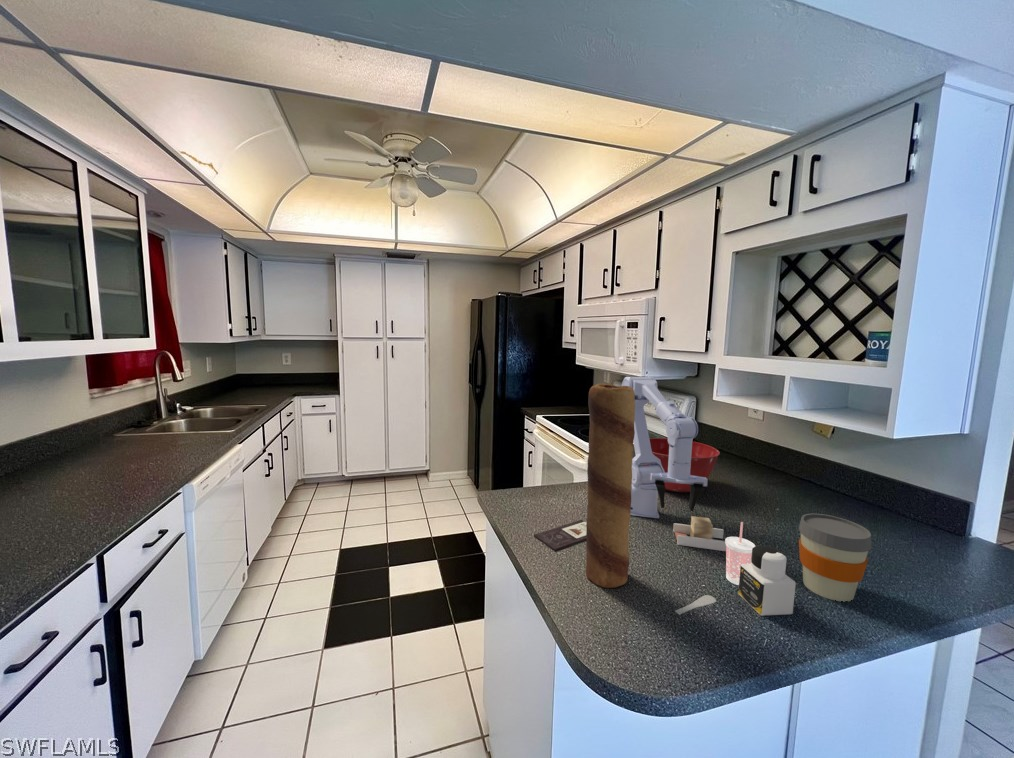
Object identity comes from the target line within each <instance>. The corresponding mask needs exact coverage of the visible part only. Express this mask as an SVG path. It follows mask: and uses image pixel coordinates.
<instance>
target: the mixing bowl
mask: <svg viewBox="0 0 1014 758" xmlns="http://www.w3.org/2000/svg"><path fill="white" fill-rule="evenodd" d="M649 439H650V444H651V450H652V454H653V455H654V456H656V457H657V458H659V459H660V461H661V465H662V467H663V469H664V471H665V473H668V460H669V443H668V437H667V438H666V437H655V438H654V437H653V438H652V437H651V438H649ZM720 455H721V454H720V451H719V449H717V448H715V447H713V446H711V445H708V444H704V443H701V442H697V441H693V440H692V454H691V468H690V475H693V476H699V477H706V478H707V479H708V478H709V477H710V475H711V473H712V471H713V469H714V467H715V465H716V462H717V460H718V458H719V457H718V456H720ZM642 465H649V464H642ZM664 483H665V487H666V489H665V491H669V492H673V493H674V492H675V493H690V484H681V483H671V482H664Z"/></svg>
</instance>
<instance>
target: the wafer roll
mask: <svg viewBox="0 0 1014 758" xmlns="http://www.w3.org/2000/svg"><path fill="white" fill-rule="evenodd" d="M587 400H588V401H587V404H588V410H589V411H588V412H589V431H588V437H589V438H588V457H587V469H586V470H587V474H586V475H587V495H586V496H587V509H586V514H587V515H586V523H587V531H586V540H585V542H586V548H585V549H586V556H585V557H586V559H585V560H586V561H585V562H586V564H585V565H586V567H585V574H586V578H587V579H588V580H589V581H591V582H592V583H593V584H594V585H596V586H599V587H600V588H604V589H615V588H619V587H621V586H624V585H626V583H627V582H628V577H629V575H628V574H629V573H628V572H629V566H630V553H629V551H630V550H629V546H630V541H629V539H630V538H629V534H630V520H631V516H632V515H631V490H632V459H633V451H634V443H633V440H634V435H635V430H634V422H635V393H634V390H633V388H631V387H629V386H622V385H618V386H617V385H615V384H609V383H597V384H595V385H592V386H591V387H590V388H589V391H588V399H587Z"/></svg>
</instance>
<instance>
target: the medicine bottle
mask: <svg viewBox="0 0 1014 758" xmlns="http://www.w3.org/2000/svg"><path fill="white" fill-rule="evenodd" d="M786 568H787V556H786V555H785V553H783V551H780V550H779V549H777V548H775V547H772V546H767V545H755V547H754V548H753V549H752V557H751V564H741V568H740V579H739V585H738V591H737V592H738V595H739V596H740V597H741V598H742V599H743V600H744V601H745V602H746V603H747V604H748V605H749V606H750V607H751V608H752V609H754V611H756V613H758V614H759V616H760V617H761V616H764V617H765V616H784V615H785V616H786V615H793V613H794V605H795V603H794V602H795V593H796V581H795V580H794V579H792V578H791V577H790V576H788V575H787V574H786V571H787V570H786Z"/></svg>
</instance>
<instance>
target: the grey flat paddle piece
mask: <svg viewBox="0 0 1014 758" xmlns="http://www.w3.org/2000/svg"><path fill="white" fill-rule="evenodd" d="M715 603H717V599H716V598H715V597H714V596H712V595H709V594H705V595H702V596H700V597H699V598H698V599H696V600H694V601H693V602H691V603H690V604H688V605H686V606H683V607H681V608H679V609H676V610H674V612H675V613H676V614H678V615H682V614H684V613H687V612H689V611H691V610H692V611H693V610H694V609H697V608H700V607H701V608H702V607H705V606H710V605H712V604H715Z"/></svg>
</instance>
